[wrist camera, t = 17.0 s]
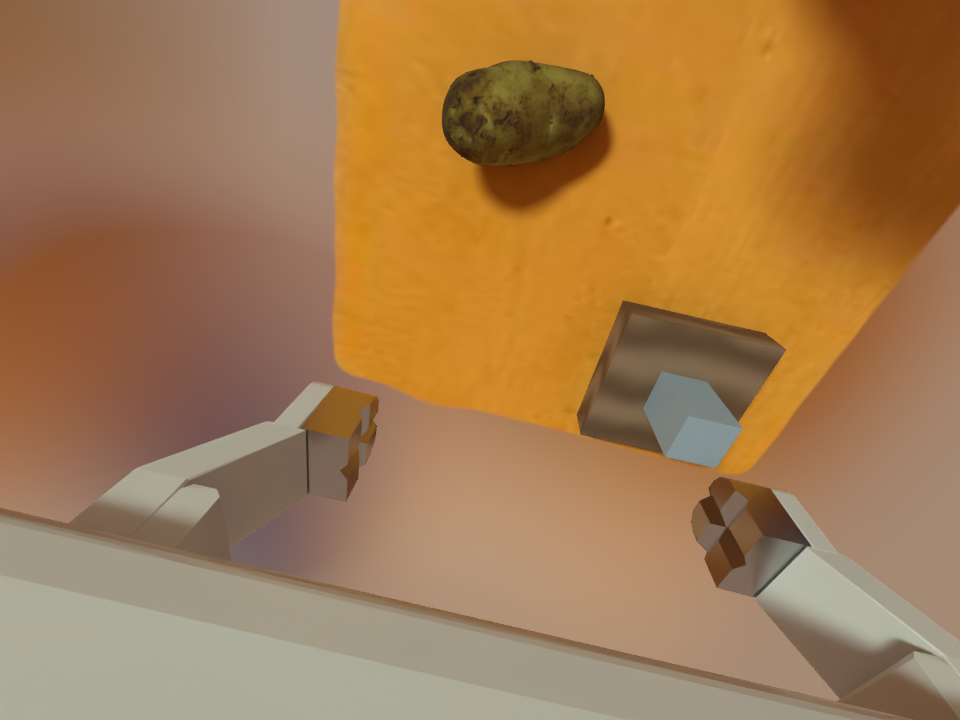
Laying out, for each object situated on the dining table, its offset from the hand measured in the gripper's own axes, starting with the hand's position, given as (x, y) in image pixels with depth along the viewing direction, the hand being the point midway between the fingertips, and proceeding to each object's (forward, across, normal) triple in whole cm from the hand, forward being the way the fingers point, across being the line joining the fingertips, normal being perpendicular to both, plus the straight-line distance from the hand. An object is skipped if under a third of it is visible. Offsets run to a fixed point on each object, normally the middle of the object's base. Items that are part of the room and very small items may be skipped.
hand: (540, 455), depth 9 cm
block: (+31, -20, +14) cm, 39 cm away
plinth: (+35, -20, +14) cm, 43 cm away
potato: (+35, +3, -8) cm, 36 cm away
